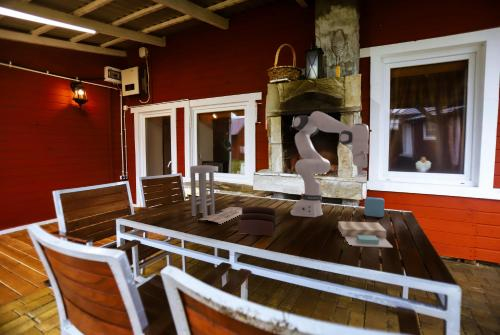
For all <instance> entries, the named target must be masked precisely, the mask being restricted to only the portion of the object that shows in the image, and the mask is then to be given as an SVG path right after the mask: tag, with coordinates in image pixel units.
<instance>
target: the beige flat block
mask: <svg viewBox="0 0 500 335" xmlns="http://www.w3.org/2000/svg"><path fill="white" fill-rule="evenodd" d="M337 223H338V225H337V227H338V228H337V229H338V231H339V233H340V232H341V233H340V235H341V234H342V235H341V237H345V236H349V237H357V235H366V236H376V237H377V238H385V239H387V230H386V229H385V228H384V227H383V226H382V225H381V224H380V223H379V222H370V221H369V222H366V221H365V222H364V221H343V220H342V221H338V222H337Z"/></svg>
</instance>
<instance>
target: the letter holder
mask: <svg viewBox="0 0 500 335" xmlns="http://www.w3.org/2000/svg"><path fill="white" fill-rule="evenodd" d="M241 208H242V214H241V215H240V216H239V220H238V222H237V228H238V229H237V231H238V232H237V233H246V234H256V235H255V236H258V235H268V236H267V237H274V236H275V233H276V210H275V209H274V208H271V207H265V206H244V207H241ZM273 235H274V236H273Z"/></svg>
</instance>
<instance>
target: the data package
mask: <svg viewBox="0 0 500 335" xmlns="http://www.w3.org/2000/svg"><path fill="white" fill-rule="evenodd" d="M363 210H364V212H363V213H364V215H365V216H368V217H375V218H376V217H377V218H383V217H385V199H384V198H382V197H371V196H369V197H365V199H364V209H363Z"/></svg>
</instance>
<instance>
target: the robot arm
mask: <svg viewBox="0 0 500 335" xmlns="http://www.w3.org/2000/svg"><path fill="white" fill-rule="evenodd" d="M292 125H293V128H294V129H296V130H297V131H299V132H296V133H295V136H294V143H295V146H296V149H297V150H298V154H299V156H300V157H301V158H302V159H299V160H297V161H296V163H295V165H294V168H295V172H296V173H297V174H298V175H299V176H300V177H301V178H302V180H303V184H304V193H303V192H302V193H301V194H300V196H301V199H299V200H298V201H297V202H295V203H294V205H293V209H291V210H290V215H292V216H293V217H294V216H296V217H310V218H317V217H320V216H323V215H324V213H323V209H322V199H323V198H322V193H321V192H322V189H321V188H322V184H321V182H320V181H319V180H318V179H316V177H315V175H323V174H326V173H329V172H330V171H331V170H330V169H331V163H330V161H329V160H328V159H327V158H324V157H323V156H322V155H321V154H319V153H318V151H317V150H316V149H315V147H314V144H313V143H312V140H311V137H314V136H315V135H316V134H318V132H319V131H322V132H325V133H337V134H339V143H340V144H341V145H344V146H352V147H351V154H352V164H353V166H356V169H357V175H363V169H366V168H368V155H369V138H370V134H369V132H370V130H369V126H368V125H367V124H365V123H355V124H353V125H352V126H349V125H348V124H346V123H343V122H341V121H339V120H337V119H335V118H334V117H332V116H330V115H328V114H326V113H324V112H323V111H319V110H317V111H315V110H314V111H313V112H312V113H311V114H310V116H308V115H306V114H305V115H298V116H296V117H295V118H294V120H293V122H292Z"/></svg>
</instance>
